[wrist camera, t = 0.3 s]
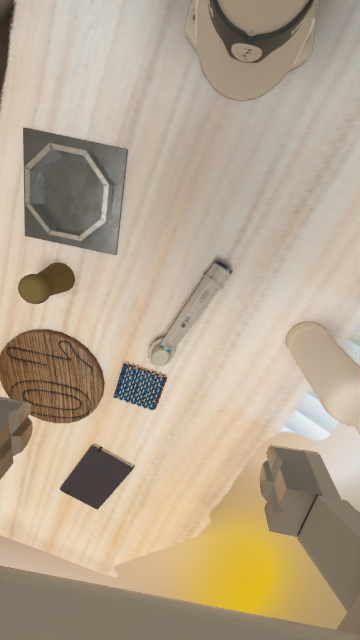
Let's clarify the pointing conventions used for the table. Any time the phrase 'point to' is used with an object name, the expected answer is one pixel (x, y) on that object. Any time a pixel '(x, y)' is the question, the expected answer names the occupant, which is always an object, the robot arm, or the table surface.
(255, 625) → the robot arm
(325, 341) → the bottle
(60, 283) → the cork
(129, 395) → the woven mat
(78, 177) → the duct collar
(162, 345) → the toothbrush head
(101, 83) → the table surface
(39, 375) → the trivet
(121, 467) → the notebook
